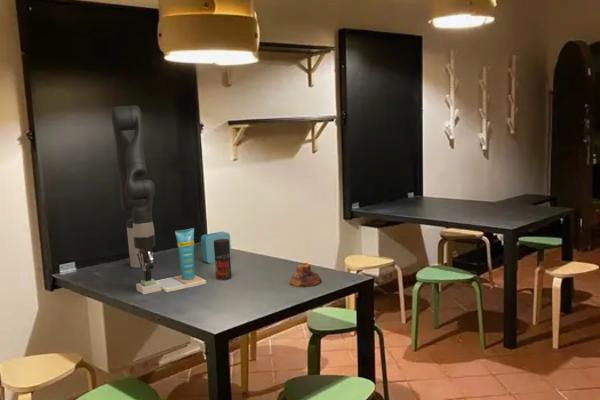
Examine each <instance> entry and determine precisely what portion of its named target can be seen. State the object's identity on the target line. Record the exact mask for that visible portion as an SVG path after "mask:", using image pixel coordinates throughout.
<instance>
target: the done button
mask: <svg viewBox="0 0 600 400" xmlns="http://www.w3.org/2000/svg"><path fill="white" fill-rule="evenodd" d="M140 281H141V282H140V283H141V285H143V286H150V285H154V284H156V282H155V281H156V280H155V279H154V278H152V279H151V280H149V281H146V280H145V279H141V280H140Z"/></svg>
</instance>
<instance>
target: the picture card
mask: <svg viewBox="0 0 600 400" xmlns="http://www.w3.org/2000/svg"><path fill="white" fill-rule="evenodd" d="M156 281H157V282H158V283H160V284H161V289H162V291H163V292H166V293H169V292H174V291H178V290H182V289H188V288H192V287H197V286H202V285H205V284H207V280H206V279H204V278H202V277H200V276H197V275H195V278H194V279H191V280H183V279H182V276H181V275H177V276H173V277H172V276H171V277H167V278H163V279H158V280H156Z"/></svg>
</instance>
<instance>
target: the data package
mask: <svg viewBox="0 0 600 400" xmlns="http://www.w3.org/2000/svg"><path fill="white" fill-rule="evenodd" d="M217 239H229V248H230V259H231V258H232V247H231V246H232V245H231V234H230V233H229V232H226V231H217V232H212V233H211V232H210V233H206V234H203V235H201V237H200V243H201V258H202V261H203V262H204V263H206V264H215V254H214V240H217Z"/></svg>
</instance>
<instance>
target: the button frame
mask: <svg viewBox="0 0 600 400" xmlns="http://www.w3.org/2000/svg"><path fill="white" fill-rule="evenodd" d="M155 282H156V284H154V285H150V286H143V285H141V282H139V283H136V284H135V286H136V288H135V289H136V291H137V292H139V293H140V294H142V295H147V294H151V293H152V294H153V293H156V292H161V291H163V290H162V289H161V284H160V283H158V282H157V280H155Z"/></svg>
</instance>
